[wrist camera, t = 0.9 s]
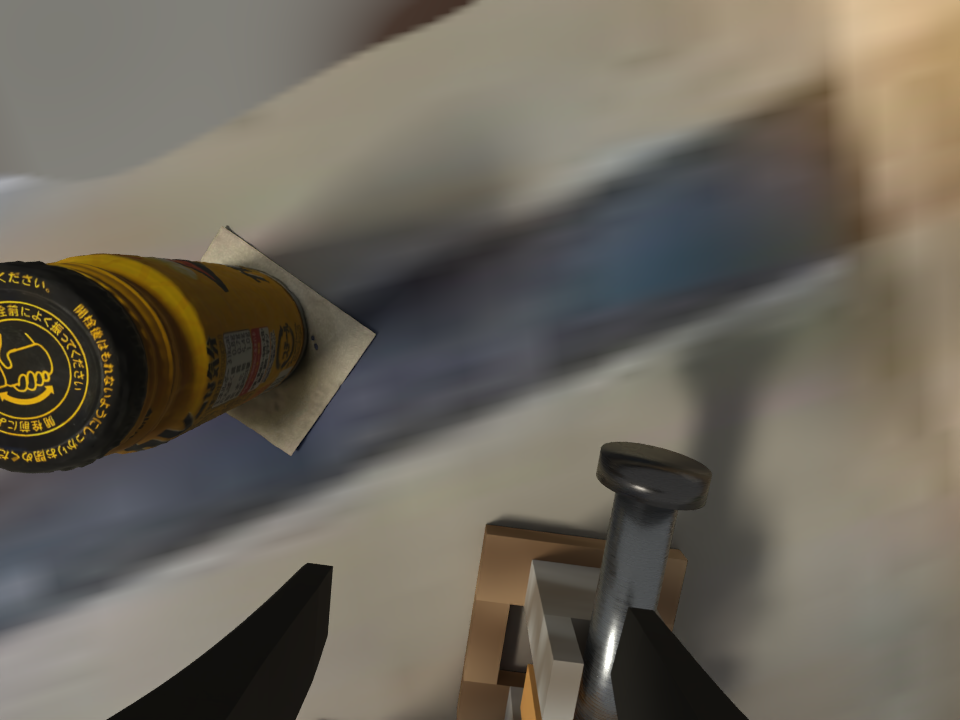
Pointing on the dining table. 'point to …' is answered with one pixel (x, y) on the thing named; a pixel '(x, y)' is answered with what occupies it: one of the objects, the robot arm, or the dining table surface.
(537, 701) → the block
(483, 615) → the bearing stand
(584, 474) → the dining table surface
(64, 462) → the condiment
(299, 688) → the robot arm
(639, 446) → the shaft
